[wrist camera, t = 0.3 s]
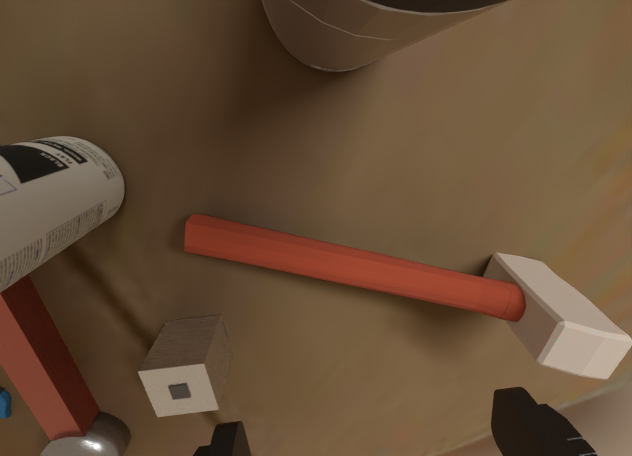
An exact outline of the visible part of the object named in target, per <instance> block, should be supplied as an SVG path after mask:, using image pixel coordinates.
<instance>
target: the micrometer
mask: <svg viewBox="0 0 632 456" xmlns="http://www.w3.org/2000/svg"><path fill="white" fill-rule="evenodd" d="M4 389H5V388H2V387H0V417H1V418H8V417H9V416H10V415H11V411H10V403H11V397H10V395H9V394H8V393H7V392H6V391H5V390H4Z"/></svg>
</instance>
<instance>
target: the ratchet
mask: <svg viewBox="0 0 632 456" xmlns="http://www.w3.org/2000/svg"><path fill="white" fill-rule="evenodd" d="M0 364H1V366H2V367H3V369H4V370H5V372H6V373H7V375H8V376H9V378H10V379H11V381H12V382H13V384H14V386H15V387H16V389H17V390H18V392H19V393H20V395H21V396H22V398H23V399H24V401H25V402H26V404H27V405H28V407H29V409H30V410H31V412H32V413H33V415H34V416H35V418H36V419H37V421H38V422H39V424H40V425H41V427H42V428H43V430H44V432H45V433H46V435H47V436H48V438H49V439H50V442H49V443H48V444H47V446H46V447H45V449H44V450H43V451H42V453H41V454H40V456H123V454H124V452H125V450H126V448H127V446H128V444H129V442H130V438H131V435H130V431H129V429H128V427H127V426H126V425H125V423H123V422H122V421H121V420H120V419H118V418H116V417H115V416H113V415H110V414H107V413H104V412H100V409H99V407H98V405H97V404H96V402H95V400H94V398H93V396H92V394H91V392H90V390H89V389H88V387H87V385H86V383H85V381H84V379H83V377H82V375H81V373H80V372H79V370H78V368H77V366H76V364H75V362H74V360H73V358H72V356H71V355H70V353H69V351H68V349H67V347H66V345H65V343H64V341H63V340H62V338H61V336H60V334H59V332H58V330H57V328H56V326H55V324H54V323H53V321H52V319H51V317H50V315H49V313H48V311H47V309H46V308H45V306H44V304H43V302H42V300H41V298H40V296H39V294H38V292H37V291H36V289H35V287H34V285H33V283H32V281H31V279H30V277H29V275H28V274H27V275H25V276H24V277H22V278H21V279H19V280H18V281H17V282H15V283H14V284H12V285H11V286H9V287H8V288H7V289H5V290H4V291H2V292H0Z"/></svg>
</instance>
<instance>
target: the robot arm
mask: <svg viewBox="0 0 632 456" xmlns="http://www.w3.org/2000/svg"><path fill="white" fill-rule="evenodd" d="M261 1H262V4H263V6H264V9H265V12H266V14H267V17H268V20H269V22H270V25H271V27H272V29H273V31H274V32H275V34H276V36H277V38H278V40H279V41H280V42H281V44H282V45H283V46H284V47H285V49H286V50H287V51H288V52H289V53H290V54H291V55H292V56H294V57H295V58H296V59H297V60H298V61H300V62H301V63H303V64H305V65H307V66H309V67H311V68H313V69H317V70H321V71H325V72H344V71H350V70H354V69H358V68H361V67H363V66H365V65H368V64H370V63H371V62H373V61H375V60H377V59H380V58H382V57H384V56H386V55H389V54H391V53H393V52H396V51H398V50H400V49H402V48H405V47H407V46H409V45H411V44H414V43H416V42H418V41H420V40H423V39H425V38H427V37H429V36H432V35H434V34H436V33H438V32H441V31H443V30H445V29H448V28H450V27H452V26H454V25H457V24H458V23H461V22H463V21H465V20H467V19H470V18H472V17H474V16H476V15H479V14H481V13H483V12H486V11H488V10H490V9H492V8H495V7H497V6H499V5H501V4H504V3H506V2H508V1H510V0H261ZM491 429H492V433H493V436H494V439H495V442H496V444H497V446H498V448H499V449H500V451H501V453H502V455H503V456H597V455H596V452H595V451H594V449H593V448H592V447H591V446H590V445H589V444H588V443H587V442H586V440H583V438H582V436H581V435H580V433H578V431H577V430H576V429H575V428H574V427H573V425H572V424H570V422H569V421H568V420H567V419H566V418H565V417H564V416H562V415H561V414H560V413H558V412H557V411H555V410H554V409H553V408H551V407H550V406H548V405H547V404H540V405H538V404H537V403H536V402H535V400H534V399H533V398H532V397H531V396H530V394H529V393H528V392H527V391H526V390H525V389H524V388H522V387H513V388H505V389H498V390H495V392H494V399H493V409H492V419H491ZM193 456H251V453H250V449H249V445H248V441H247V437H246V434H245V430H244V426H243V423H242V421H237V422H229V423H221V424H217V425H216V427H215V430H214V433H213V437H212V440H211V444H210V445H208V446H201V447H198V449H197V450H196V452H195V453H194V455H193Z"/></svg>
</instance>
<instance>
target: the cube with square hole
mask: <svg viewBox="0 0 632 456" xmlns="http://www.w3.org/2000/svg"><path fill="white" fill-rule="evenodd" d="M231 359H232V353H231V350H230V346H229V342H228V338H227V335H226V331H225V327H224V324H223V320H222V316H221V315H213V316H205V317H196V318H188V319H180V320H171V321H167V322H166V323H165V325H164V327H163V329H162V330H161V332H160V334H159V335H158V337H157V339H156V341H155V342H154V344H153V346H152V348H151V349H150V351H149V353H148V355H147V356H146V358H145V360H144V361H143V363H142V365H141V367H140V368H139V370H138V373H139V376H140V378H141V380H142V383H143V385H144V387H145V390H146V392H147V394H148V397H149V399H150V401H151V403H152V406H153V408H154V410H155V413H156V415H157V417H163V416H171V415H179V414H187V413H195V412H203V411H212V410H219V407H220V403H221V399H222V395H223V391H224V387H225V383H226V379H227V375H228V371H229V367H230V363H231Z"/></svg>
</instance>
